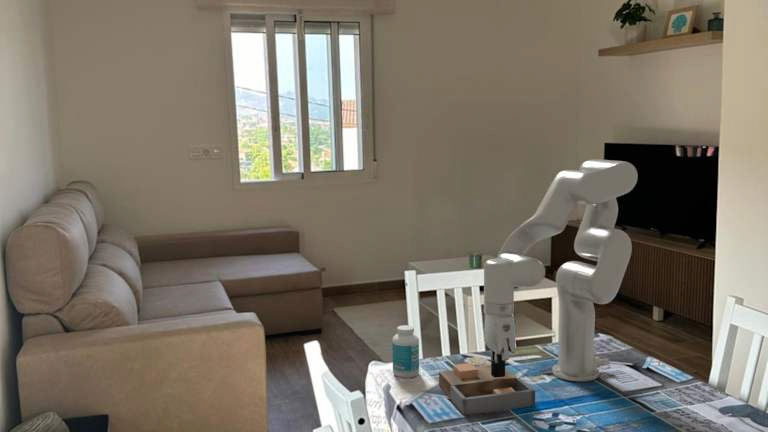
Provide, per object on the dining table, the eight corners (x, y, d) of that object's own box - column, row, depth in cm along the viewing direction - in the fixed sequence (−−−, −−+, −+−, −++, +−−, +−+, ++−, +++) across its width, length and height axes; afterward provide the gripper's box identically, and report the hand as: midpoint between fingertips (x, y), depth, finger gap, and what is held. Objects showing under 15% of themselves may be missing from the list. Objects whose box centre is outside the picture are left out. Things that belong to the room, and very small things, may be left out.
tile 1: (470, 370, 186) (470, 362, 186) (477, 376, 181) (477, 369, 181) (453, 372, 185) (453, 364, 185) (460, 378, 180) (460, 371, 180)
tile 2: (519, 394, 173) (519, 402, 173) (511, 387, 177) (511, 394, 178) (500, 397, 171) (500, 404, 172) (492, 389, 176) (492, 397, 176)
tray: (519, 392, 181) (519, 377, 180) (535, 405, 172) (535, 390, 172) (450, 400, 176) (450, 385, 175) (463, 415, 167) (463, 399, 167)
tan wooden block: (501, 378, 190) (501, 364, 190) (517, 392, 181) (517, 377, 180) (439, 385, 186) (439, 371, 185) (452, 400, 176) (451, 385, 176)
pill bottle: (417, 379, 191) (416, 332, 189) (390, 378, 192) (389, 331, 190) (421, 369, 198) (420, 324, 196) (395, 368, 199) (394, 323, 197)
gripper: (525, 314, 171) (524, 385, 173) (500, 298, 185) (499, 364, 188) (496, 316, 169) (496, 388, 171) (474, 301, 183) (473, 367, 186)
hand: (498, 376), depth 180 cm, fingers closed
